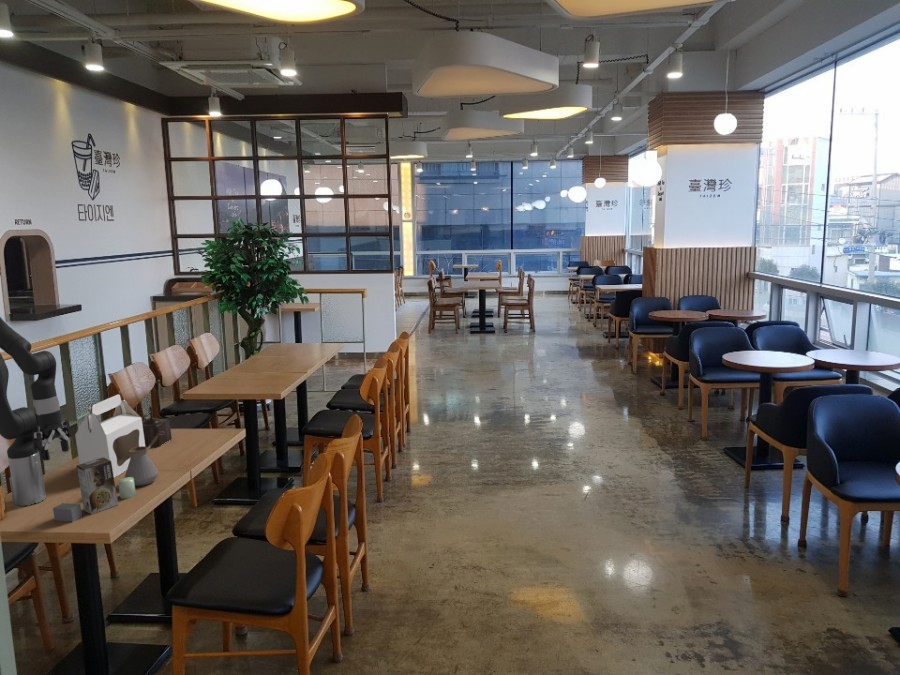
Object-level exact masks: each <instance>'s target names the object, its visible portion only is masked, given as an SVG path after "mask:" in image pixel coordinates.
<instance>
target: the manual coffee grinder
mask: <svg viewBox="0 0 900 675" xmlns="http://www.w3.org/2000/svg"><path fill="white" fill-rule="evenodd" d="M148 409H149V410H148V412H147V413H145V414H144V415H143V416H142V415H141V416H140V417H141V418H142V426H143V433H144V440H145V447H147V448H148V446H149V445H150V443H151V442H152V440H153V439H154V438H155V437H156V436H157V434H158V433H159V432H160V431H163V432H161V434H162V435H161V434H160V436H158V438H157V440H156V441H155V443H154V444H153V445H152V446H151V447H150V448H160V447H162V446H163V445H162V444H164V443H165V442H167V441H169V440H170V441H172V440H173V438H172V431H171V430H172V429H171V422H170V419H164V418H163V419H162V418H161V419H160V418H157V417H154V416H153V411H154V410H153V406H149V407H148ZM133 410H134V411H135V409H134V408H133ZM148 416H150V417H149V418H147V417H148ZM164 433H165V434H164ZM163 434H164V435H163ZM171 439H172V440H171ZM170 441H169V442H170ZM167 443H168V442H167ZM165 444H166V443H165ZM165 444H164V445H165ZM161 445H162V446H161ZM159 446H160V447H159Z"/></svg>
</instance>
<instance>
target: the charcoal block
mask: <svg viewBox="0 0 900 675" xmlns="http://www.w3.org/2000/svg"><path fill="white" fill-rule="evenodd" d="M52 511H53V517H54V521H55V520H60V521H59V522H66V521H74V522H76V521H77V520H79V519H81V518H82V517H83V514H82V506H81V504H80V503H63V502H61V503H60V504H58V505H56V506H54V507H53V508H52ZM80 517H81V518H80ZM78 518H79V519H78ZM75 520H76V521H75Z"/></svg>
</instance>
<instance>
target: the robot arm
mask: <svg viewBox="0 0 900 675" xmlns="http://www.w3.org/2000/svg"><path fill="white" fill-rule="evenodd" d="M0 349H1V350H3V351H4V352H5V353H6V354H7V355H9V356H10V357H11V358H12V359H13V361H14V362H15V363H16V365H17V367H18V368H19V369H20V370H21V371H22V372H23V373H24V374H26V375H29V376H36V375H37V378H36V379H35V380H34V381H33V382H32V383H31V385H30V391H31V395H32V401H33V403H32V404H33V410H34V411H33V410H32V409H31V408H29V407H26V406H23V407H19V408H15V409H13V410H12V407H11V405H10V403H9V400H8V393H7V392H8V385H9V377H10V376H9V368H8V366H7V364H6V361H5V359H4V357H3V355H2V353H1V352H0V436H1V437H3V438H4V439H5V440H8V441H9V440H14V441H13V442H12V444H10V446H9V447H8V448H7V449H6V454H7V459H8V466H9V470H10V477H9V485H10V490H11V497H12V501H13V504H15V505H16V506H19V507H25V506H24V505H27V506H31V504H32V505H35V504H34V503H36V504H38V502H39V503H41V502H42V500H43V501H44V500H46V499H47V494H46V488H45V481H44V474H43V470H42V462H41V459H42V460H43V461H49V460H50V459H51V458H50V457H51V456H50V451H49V445H50V444H51V442H52V441H54V440H55V439H58V440H60V441H59V442H60V448H61V452H68V451H69V450H70V446H69V441H68V440H69V439H70V438H72V437H73V434H72V430H71V426H70V421H69V420H63V416H62V411H61V406H60V401H59V397H58V394H57V389H56V385H55V384H56V377H57V376H56V374H57V361H56V358H55V356H54V355H53V353H52V352H50V351H47V350H42V351H37V352H34V353H31V350H32V343H30V342H29V341H28V340H27V339H26V338H24V337H23V336H22V335H21V334H20V333H18V332H17V331H15V330H14V329H13V328H12V327H10V326H9V325H8V324H7V322H5V320H4V319H2V317H1V316H0ZM40 455H41V457H40ZM45 498H46V499H45Z"/></svg>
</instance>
